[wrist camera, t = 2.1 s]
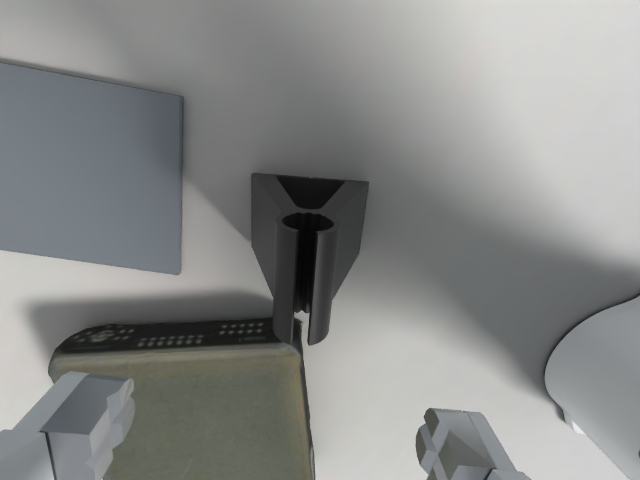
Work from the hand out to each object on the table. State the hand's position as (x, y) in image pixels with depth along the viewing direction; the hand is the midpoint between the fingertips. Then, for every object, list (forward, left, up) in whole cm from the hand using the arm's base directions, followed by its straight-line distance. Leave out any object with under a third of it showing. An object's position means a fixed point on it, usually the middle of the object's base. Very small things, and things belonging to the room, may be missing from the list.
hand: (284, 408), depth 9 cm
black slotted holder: (0, 0, -18) cm, 18 cm away
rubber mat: (+18, 0, -18) cm, 25 cm away
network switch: (+7, +22, -19) cm, 30 cm away
